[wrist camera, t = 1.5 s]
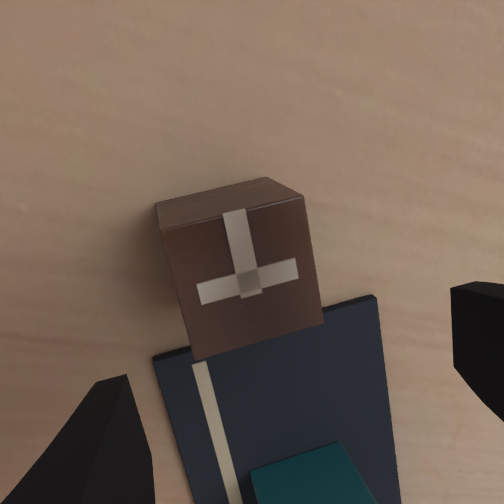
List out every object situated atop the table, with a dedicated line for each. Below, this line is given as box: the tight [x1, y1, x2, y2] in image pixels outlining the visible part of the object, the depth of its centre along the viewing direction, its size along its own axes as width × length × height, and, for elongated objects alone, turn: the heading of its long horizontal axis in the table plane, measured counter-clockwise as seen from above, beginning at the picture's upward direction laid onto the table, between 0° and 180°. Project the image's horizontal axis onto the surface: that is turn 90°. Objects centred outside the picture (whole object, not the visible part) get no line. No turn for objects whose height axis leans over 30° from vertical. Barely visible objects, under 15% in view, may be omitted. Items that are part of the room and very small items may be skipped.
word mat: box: [153, 294, 401, 504], centre depth 23 cm, size 10×18×1 cm, turn 11°
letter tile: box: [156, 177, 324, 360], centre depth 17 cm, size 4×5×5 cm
